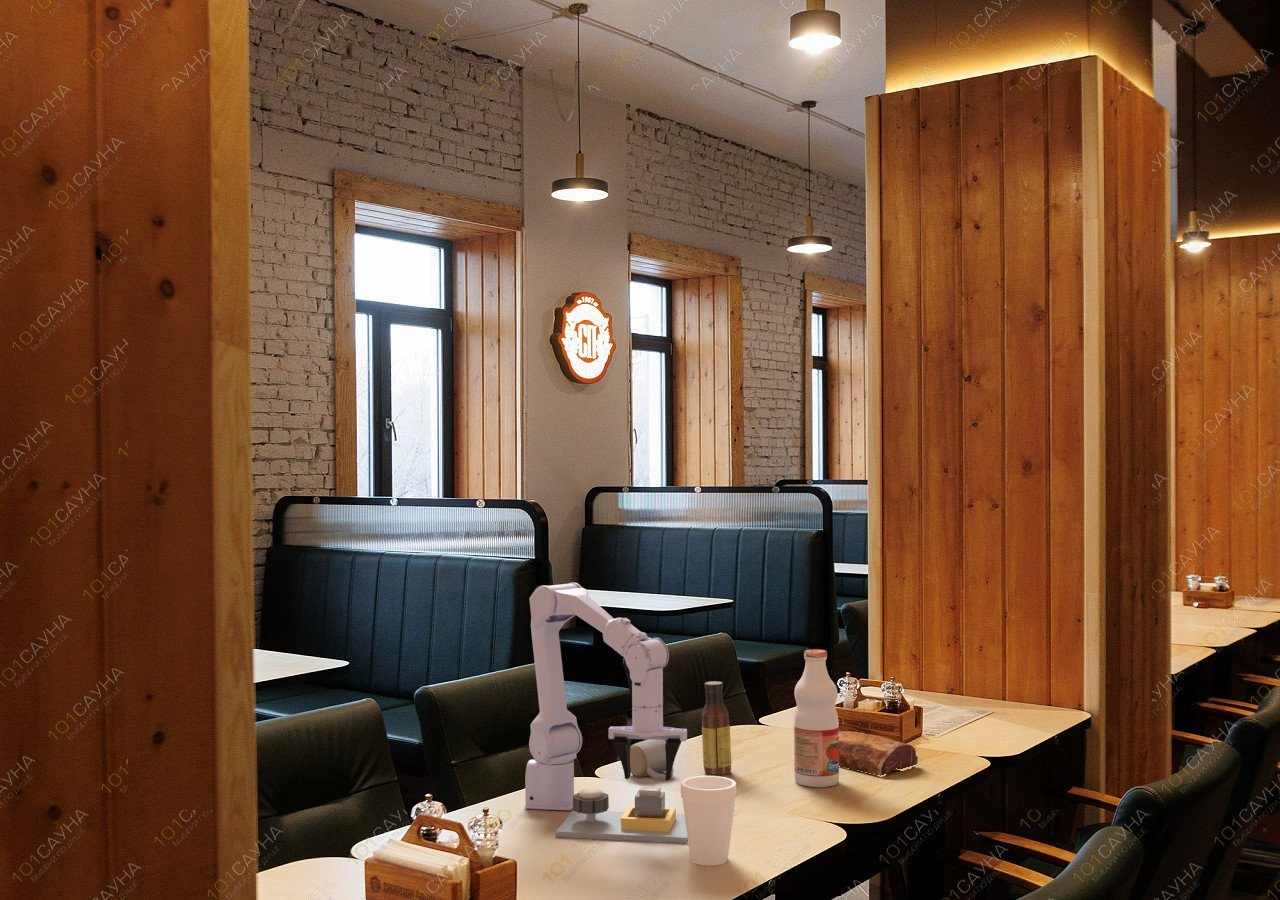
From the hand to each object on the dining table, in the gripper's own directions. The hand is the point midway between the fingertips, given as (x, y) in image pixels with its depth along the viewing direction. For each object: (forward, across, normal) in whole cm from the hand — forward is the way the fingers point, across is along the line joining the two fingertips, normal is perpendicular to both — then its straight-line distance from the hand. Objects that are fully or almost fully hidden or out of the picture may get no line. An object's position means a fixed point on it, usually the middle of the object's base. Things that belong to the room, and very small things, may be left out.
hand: (648, 778), depth 214 cm
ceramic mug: (+10, -6, +39) cm, 40 cm away
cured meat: (+10, +40, +59) cm, 72 cm away
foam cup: (+10, +13, -15) cm, 22 cm away
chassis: (+9, -4, 0) cm, 10 cm away
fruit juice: (+10, +30, +38) cm, 49 cm away
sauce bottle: (+10, +8, +43) cm, 45 cm away
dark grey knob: (+6, -11, 0) cm, 12 cm away
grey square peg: (+8, 0, 0) cm, 8 cm away
